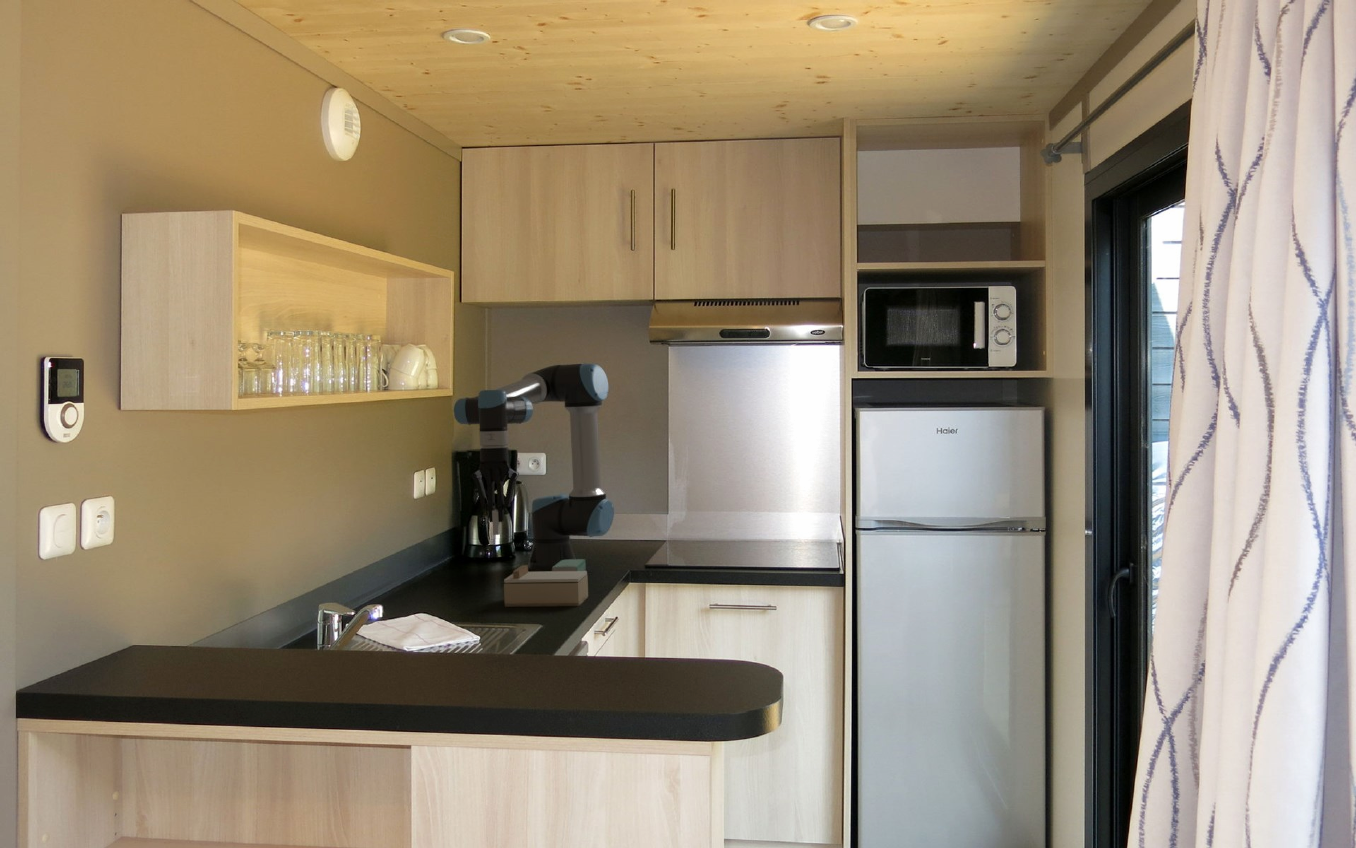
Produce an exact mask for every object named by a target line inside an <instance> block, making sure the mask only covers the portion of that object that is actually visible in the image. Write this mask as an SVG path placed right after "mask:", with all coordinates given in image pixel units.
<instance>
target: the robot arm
mask: <svg viewBox="0 0 1356 848" xmlns="http://www.w3.org/2000/svg"><path fill="white" fill-rule="evenodd" d="M609 391H610V390H609V380H608V376H607V374H606V372H605V371H604V369H603V368H602V367H601V366H600V365H599V364H596V363H585V362H584V363H576V364H575V363H573V364H554V365H550V366H547V367H544V368H543V367H542V368H540V369H538V370H536V371H533V372H530V373H528V374H525V375H524V376H523V377H522V378H521V380H518V381H516V382H513V383H511V384H507V385H504V386H501V387H499V388H496V389H484V390H483V389H482V390H479V392H478V395H476V396H474V397H467V396H466V397H463V398H458V399H457V400H456V402H455V403H454V405H453V416H454V419H455V420H456V422H457V423H458V424H460V425H469V426H471V425H479V446H480V447H481V448H480V450H479V453H480V454H479V459H480V464H479V467H478V470H477V471H475V472H474V473H471V475H470V477H471V479H472V480H473V482H474V484H475V487H476V491H477V495H478V498H479V502H480V507H481V508H482V509H486V510H487V511H488V521H489V523H492V535H493V536H496V535H497V536H499V535H502V523H503V522H505V509H507V508H510V507H511V505H512V500H513V496H514V491H515V490H514V489H515V485H516V481H517V479H518V478H519V476H520V473H519V471H515V470H513V469H512V467H511V465H510V463H509V460H510V459H509V456H510V455H509V448H508V447H507V446H508V445H509V435H508V433H509V431H508V425H509V424H511V425H513V424H514V425H515V424H519V425H520V424H522V423H527V422H528V421H530V420H531V418H532V416H533V415H534V414H533V413H534V407H533V404H534V405H536V404H540V403H543V402H546V403H547V402H549V403H550V402H551V403H553V402H556V403H558V402H559V403H560V402H563V403H564V408H565V410H566V411H568V412H569V418H570V419H569V421H570V447H571V465H572V467H571V469H572V487H573V488H572V490H571V491H570V492H569V494H568V493H560V494H554V495H548V496H542V497H537V498H535V499H533V501H532V502H531V503H532V504H531V517H532V518H531V519H532V521H531V522H532V538H533V539H532V541H533V544H532V548H531V552H530V555H529V559H528V570H530V571H532V572H546V571H552V567H553V566H555V565H556V564H557V563H559V562H560V561H561V560H568V559H577V558H576V556H575V553H574V551H573V550H574V549H573V547H572V545H571V541H570V539H571V537H589V538H594V537H603V536H605V535H606V534H607V533H608V532H609V531H610V528H611V527H612V524H613V523H614V516H615V507H614V505H613V502H612V500H610V499H609V498H607V494H606V493H607V492H606V491H605V490H603V489H602V485H601V484H602V483H601V468H600V467H601V465H600V464H601V463H600V461H601V460H600V444H599V440H600V439H599V421H598V419H599V418H598V417H599V416H598V411H599V410H600V409H601V408H602V407H603V403H602V402H603V401H605V400H606V399H607V397H608V393H609ZM507 475H508V477H509V479H508V483H507V488H506V493H505V491H504V490H505V489H504V483H505V479H506V477H507ZM482 477H483V478H484V479H485V480H486V486H487V487H486V489H487V490H486V491H487V495H486V491H485V487H484V483H483V480H482ZM495 485H496V491H495ZM495 492H496V495H495ZM495 496H496V497H495ZM496 504H497V505H496ZM496 507H497V508H496ZM570 536H571V537H570Z"/></svg>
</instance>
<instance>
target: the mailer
mask: <svg viewBox="0 0 1356 848" xmlns="http://www.w3.org/2000/svg"><path fill="white" fill-rule="evenodd" d="M588 582H589V580H588V574H586V575H585V576H584V577H583V578H582V579H581V580H580V581H579V582H522V583H504V584H503V591H504V592H503V593H504V596H503V597H504V607H510V608H511V607H517V608H518V607H579V606H581V605H582V604H583V603H584V601H585V600H586V599H588V597H589V583H588Z"/></svg>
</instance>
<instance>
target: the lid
mask: <svg viewBox="0 0 1356 848" xmlns="http://www.w3.org/2000/svg"><path fill="white" fill-rule="evenodd" d="M585 575H588V571H587V570H586V571H529V564H526V565H525V564H524V565H523V564H522V565H520V566H518V568H516V569H514V570H513V571H512V574H510V575H509V576H507V577H506V578H504V579H503V580H504V581H503V583H504V584H505V583H522V582H579V581H580V580H581V579H582V578H583V577H584V576H585Z"/></svg>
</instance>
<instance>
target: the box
mask: <svg viewBox="0 0 1356 848" xmlns="http://www.w3.org/2000/svg"><path fill="white" fill-rule="evenodd" d="M586 567H587V566H586V559H583V558H581V559H580V558H576V559H568V560H561V561H560V562H559V563H557V564H556V565H555V566H553V567H552V571H587V570H586V569H587V568H586Z"/></svg>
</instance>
